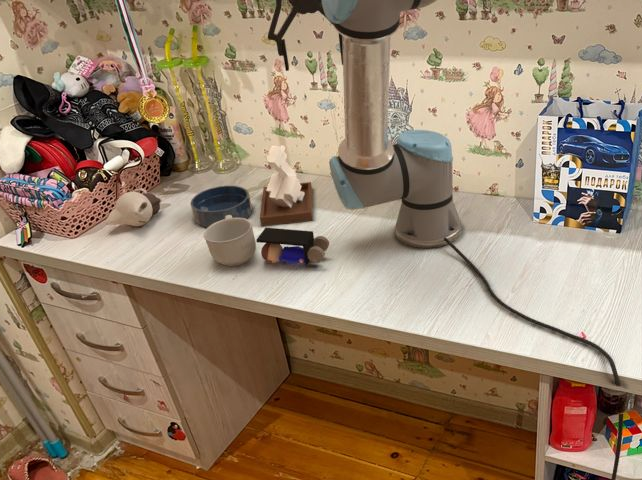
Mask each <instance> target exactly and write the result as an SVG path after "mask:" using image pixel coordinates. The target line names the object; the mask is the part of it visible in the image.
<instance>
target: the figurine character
mask: <svg viewBox="0 0 642 480" xmlns="http://www.w3.org/2000/svg"><path fill="white" fill-rule="evenodd" d="M256 243H263V245H262V247H261V250H260V251H261V257H262V259H263V260H264V261H265V262H266V263H269V264H276V263H279V262H285V263H287V264H303V265H305V266H308V267H319V265H318V264H317V263H321V262H322V261H323V260H324V258H325V256H326V254H325V252H326V251H327V250H328V248H329V247H330V240H329V239H328V238H327V237H325V236H323V235H317V236H316V237H315V235H314V231H313V230H301V229H288V228H276V227H265V228H264V229H263V230H262V231H261V233H260V234H259V235H258V236H257V238H256ZM283 245H284V247H283ZM310 262H312V263H310ZM314 263H315V264H314Z"/></svg>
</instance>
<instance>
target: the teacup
mask: <svg viewBox="0 0 642 480" xmlns="http://www.w3.org/2000/svg"><path fill="white" fill-rule="evenodd" d="M203 238H204V240H205V243H206V245H207V248H208V251H209V253H210V256H211V257H212V258H213V260H214V261H215V262H217V263H218V264H221V265H223V266H228V267H236V266H240V265H243V264H245V263H247V261H249V260H250V259H251V258H252V256H253V255H254V253H255V251H256V249H257V241H256V238H255V234H254V230H253V225H252V222H251V221H250V220H249V219H247V218H246V219H245V218H233V217H232V216H231V215H227V216H225V219H224V220H221V221H218V222H215V223H214V224H212V225H210V226H209V227H206V228H205V230H204V231H203Z"/></svg>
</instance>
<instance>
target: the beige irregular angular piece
mask: <svg viewBox="0 0 642 480" xmlns="http://www.w3.org/2000/svg"><path fill="white" fill-rule="evenodd" d="M286 148H287V147H286V146H285V145H280V146H278V145H271V147H270V149H269V151H268V153H267V156H266V163H267V164H268V165H269V166H270V167H271V169H273V170H275V171H276V172H277V173H271V177H270V179H269V181H268V184H267V186H266V187H267V189H266V191H267V192H268V193H269V194H270V196H269V197H270V198H271V199H272V200H273V201H274V202H275V203H276V204H277V205H278V206H282V207H288V208H291V207H292V204H293V202H294V203H296V201H301V202H302V200H303V197H304V194H305V193H304V192H301V191H300V190H301V187H302V186H301V185H300V183H301V181H300V179H299V178H298V177H297V175H298V174H297V172H296V171H295V169H293V167H291V165H290V164H289V163H288V162H287V158H288V154H287V152H286V151H285V150H286Z"/></svg>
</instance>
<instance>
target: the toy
mask: <svg viewBox="0 0 642 480" xmlns="http://www.w3.org/2000/svg"><path fill="white" fill-rule="evenodd" d="M141 192H143V193H141ZM162 201H163V198H161V197H158V196H156V195H155V194H153V193H150V192H148V191H147V190H145V189H144V188H142V187H140V188H136V189H134V190H133V191H127V192H124V193H123V194H121V195H120V196H119V197H118V198H117V200H116V202H115V207H114V208H113V209H112V210H111V211H110V213H109V214H108V216H107V218H106V219H105V220H106V221H105V226H116V225H117V226H118V225H128V226H131V227H142V226H144V225H146V224H147V223H148V222H150V220H151V219H152V218H153V216H154V215H156V214H158V213H159V212H160V210H161V203H162Z"/></svg>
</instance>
